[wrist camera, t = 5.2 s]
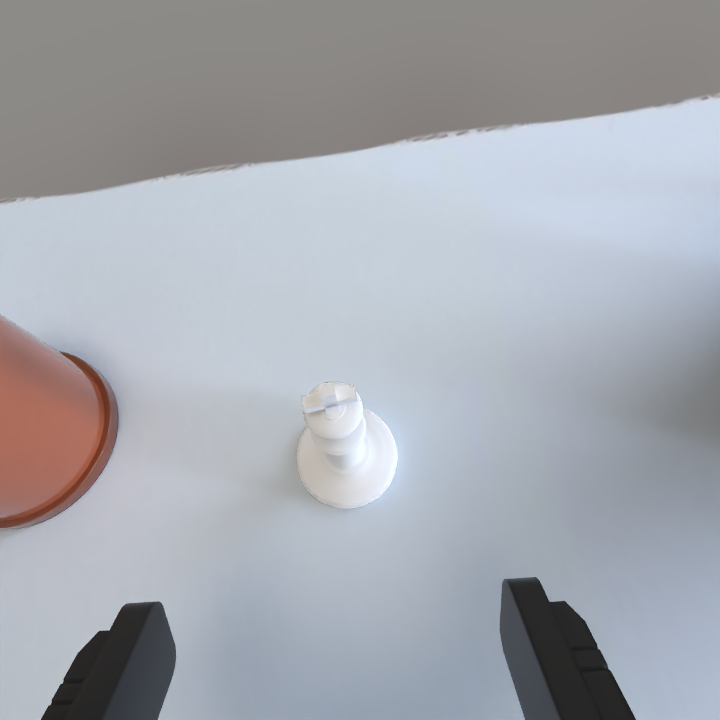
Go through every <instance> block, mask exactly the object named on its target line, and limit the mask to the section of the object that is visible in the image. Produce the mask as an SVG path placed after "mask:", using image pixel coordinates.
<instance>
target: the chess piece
mask: <svg viewBox="0 0 720 720" xmlns="http://www.w3.org/2000/svg"><path fill="white" fill-rule="evenodd" d="M301 400H302V405H303V415H304V420H305V422H306V424H307V427H306V428H305V430H304V432H303V433H302V435H301V438H300V440H299V444H298V448H297V467H298V472H299V475H300V478H301V480H302V482H303V484H304V486H305V487H306V489H307V490H308V491H309V492H310V493H311V494H312V495H313V496H314V497H315V498H316V499H318V500H319V501H321V502H322V503H324V504H326V505H329V506H332V507H335V508H342V509H351V508H357V507H361V506H364V505H366V504H369V503H371V502H372V501H374V500H375V499H377V498H378V497H379V496H380V495H382V494H383V492H384V491H385V490H386V489H387V488H388V486H389V485H390V483H391V481H392V479H393V477H394V474H395V471H396V467H397V448H396V444H395V440H394V438H393V436H392V434H391V432H390V430H389V429H388V427H387V426H386V424H385V423H384V422H383V421H382V420H381V419H380V418H379V417H378V416H376V415H375V414H373V413H372V412H370V411H368V410H365V409H363V406H362V401H361V399H360V397H359V395H358V393H357V392H356V391H355V387H354V384H351V385H347V384H344V383H341V382H327V383H323V384H320V385H318V386H317V387H316V388H314V389H313V390H312V391H311V392H310V393H309V395H305V396H301Z"/></svg>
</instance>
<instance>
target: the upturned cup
mask: <svg viewBox="0 0 720 720" xmlns="http://www.w3.org/2000/svg"><path fill="white" fill-rule="evenodd" d="M117 429H118V410H117V403H116V400H115V396H114V394H113V391H112V389H111V387H110V385H109V384H108V382H107V381H106V379H105V378H104V377H103V376H102V375H101V374H100V372H98V371H97V370H96V369H95V368H93V367H92V366H91V365H89V364H88V363H86V362H85V361H83V360H81V359H79V358H78V357H76V356H73V355H70V354H67V353H64V352H59V351H57V350H55V349H53V348H52V347H50V346H49V345H47V344H46V343H44V342H43V341H41V340H39V339H38V338H36V337H35V336H33V335H32V334H30V333H29V332H27V331H25V330H24V329H22V328H21V327H19V326H18V325H16V324H15V323H13V322H11V321H10V320H8V319H7V318H5V317H4V316H2V315H1V314H0V530H8V529H18V528H24V527H28V526H31V525H35V524H38V523H41V522H43V521H45V520H47V519H50V518H52V517H53V516H55V515H57V514H59V513H60V512H62V511H64V510H65V509H66V508H68V507H69V506H70V505H72V504H73V503H74V502H76V501H77V500H78V499H79V498H80V497H81V496H82V495H83V494H84V493H85V492H86V491H87V490H88V489H89V488H90V487H91V486H92V484H93V483H94V482H95V481H96V479H97V478H98V476H99V475H100V474H101V472H102V470H103V469H104V467H105V465H106V463H107V462H108V459H109V457H110V455H111V452H112V450H113V447H114V443H115V440H116V435H117Z"/></svg>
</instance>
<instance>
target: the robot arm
mask: <svg viewBox="0 0 720 720" xmlns="http://www.w3.org/2000/svg"><path fill="white" fill-rule="evenodd" d="M500 635H501V641H502V646H503V651H504V654H505V658H506V661H507V664H508V667H509V670H510V673H511V677H512V680H513V683H514V686H515V689H516V692H517V695H518V699H519V702H520V705H521V708H522V711H523V714H524V717H525V720H636V719H635V717H634V715H633V713H632V711H631V709H630V707H629V705H628V703H627V701H626V699H625V698H624V696H623V694H622V692H621V690H620V688H619V686H618V684H617V682H616V680H615V678H614V676H613V674H612V672H611V671H610V670H609V669H608V665H607V663H606V661H605V659H604V657H603V655H602V653H601V651H600V650H598V647H597V644H596V642H595V640H594V638H593V636H592V634H591V632H590V630H589V628H588V626H587V624H586V622H585V621H584V620H583V619H582V618H581V617H580V616H579V615H578V614H577V613H576V612H575V611H574V610H573V609H572V608H571V607H570V606H569V605H568V604H567V603H566V602H565V601H559V602H549V600H548V598H547V596H546V594H545V591H544V589H543V587H542V585H541V583H540V581H539V580H538V579H537V578H536V577H530V578H515V579H504V580H503V583H502V597H501V613H500ZM175 662H176V648H175V643H174V640H173V636H172V633H171V630H170V627H169V624H168V620H167V617H166V614H165V611H164V608H163V605H162V603H161V602H159V601H158V602H143V603H128V604H125V605H124V606H123V607H122V608H121V610H120V612H119V613H118V615H117V617H116V619H115V621H114V623H113V625H112V627H111V629H110V630H109V631H99V632H98V633H97V634H96V635H95V636H94V637H93V638H92V639H91V640H90V641H89V642H88V643H87V644H86V645H85V646H84V647H83V649H82V650H81V651H80V652H79V653H78V654H77V656H76V658H75V659H74V661H73V663H72V665H71V667H70V668H69V670H68V672H67V674H66V676H65V677H64V682H63V684H60V686H59V688H58V690H57V692H56V693H55V695H54V697H53V699H52V704H51V705H50V706H48V708H47V710H46V711H45V713H44V715H43V717H42V719H41V720H158V717H159V714H160V711H161V708H162V705H163V702H164V699H165V696H166V694H167V691H168V688H169V685H170V682H171V679H172V676H173V673H174V668H175Z"/></svg>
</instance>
